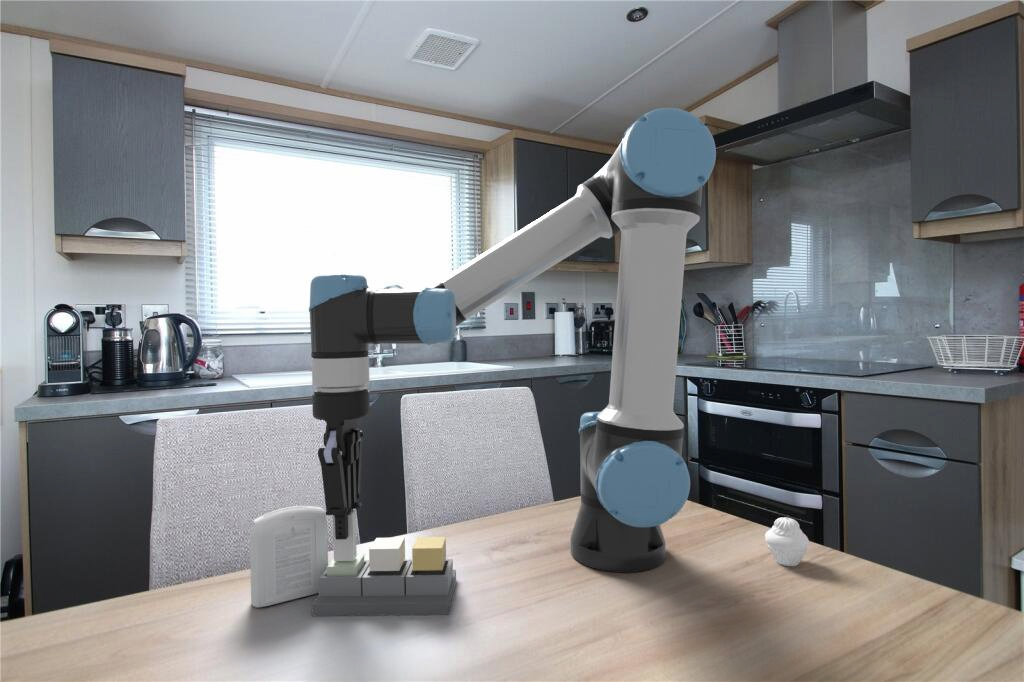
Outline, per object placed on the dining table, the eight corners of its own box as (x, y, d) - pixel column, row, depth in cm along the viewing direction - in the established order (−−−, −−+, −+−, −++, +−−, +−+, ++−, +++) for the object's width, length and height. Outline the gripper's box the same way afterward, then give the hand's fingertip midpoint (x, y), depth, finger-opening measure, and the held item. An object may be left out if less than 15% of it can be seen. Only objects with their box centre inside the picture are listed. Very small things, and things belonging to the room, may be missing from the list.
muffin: (795, 553, 91) (795, 510, 91) (817, 570, 85) (817, 523, 85) (757, 554, 91) (757, 511, 91) (776, 571, 85) (776, 524, 85)
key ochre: (446, 557, 81) (445, 536, 81) (442, 570, 77) (442, 548, 77) (417, 558, 81) (417, 537, 81) (412, 570, 77) (412, 548, 77)
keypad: (456, 579, 84) (455, 552, 84) (447, 614, 74) (447, 584, 74) (336, 581, 84) (335, 554, 84) (312, 616, 74) (311, 585, 74)
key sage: (364, 575, 81) (364, 554, 81) (356, 588, 77) (356, 566, 77) (336, 575, 81) (335, 554, 81) (327, 588, 77) (326, 566, 77)
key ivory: (405, 558, 81) (404, 537, 81) (399, 570, 77) (398, 548, 77) (376, 558, 81) (376, 537, 81) (369, 571, 77) (369, 549, 77)
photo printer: (324, 580, 85) (322, 497, 84) (332, 591, 81) (330, 505, 81) (248, 599, 79) (245, 511, 79) (254, 612, 75) (251, 519, 75)
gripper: (329, 383, 85) (333, 541, 86) (295, 394, 72) (300, 580, 72) (379, 382, 85) (383, 540, 85) (354, 393, 72) (359, 579, 72)
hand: (345, 558), depth 79 cm, fingers closed
